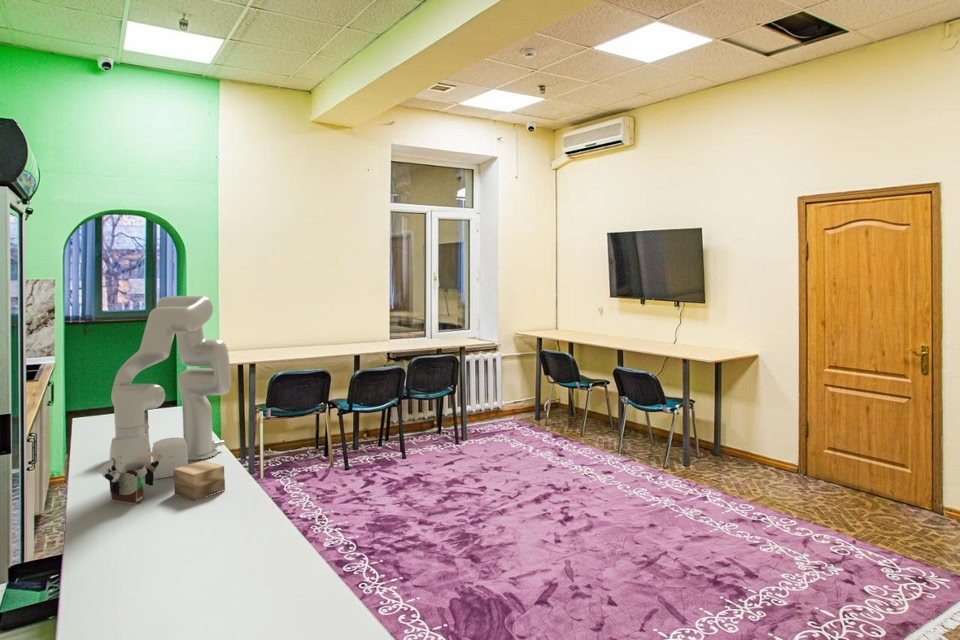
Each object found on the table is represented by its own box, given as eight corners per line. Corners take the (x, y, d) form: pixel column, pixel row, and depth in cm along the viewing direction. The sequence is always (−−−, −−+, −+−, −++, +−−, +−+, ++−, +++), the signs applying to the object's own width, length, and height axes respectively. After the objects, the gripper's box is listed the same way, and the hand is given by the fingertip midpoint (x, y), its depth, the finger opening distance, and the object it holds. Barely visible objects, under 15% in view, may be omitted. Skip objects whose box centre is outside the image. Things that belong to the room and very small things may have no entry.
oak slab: (204, 473, 195) (204, 460, 194) (224, 478, 189) (224, 465, 189) (173, 482, 186) (173, 468, 186) (193, 488, 181) (193, 474, 180)
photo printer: (154, 480, 199) (152, 442, 198) (152, 476, 202) (151, 439, 201) (189, 474, 204) (188, 437, 204) (187, 471, 208) (185, 434, 207)
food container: (158, 497, 183) (156, 464, 183) (140, 505, 177) (139, 470, 177) (126, 493, 187) (124, 460, 187) (107, 500, 182) (106, 466, 181)
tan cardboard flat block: (205, 485, 195) (204, 473, 194) (225, 492, 189) (224, 479, 189) (174, 495, 186) (174, 482, 186) (194, 502, 181) (194, 488, 181)
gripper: (152, 423, 190) (154, 479, 191) (91, 436, 176) (94, 495, 177) (166, 427, 186) (168, 483, 187) (105, 440, 172) (108, 501, 173)
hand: (132, 489), depth 182 cm, fingers open, 9 cm apart
